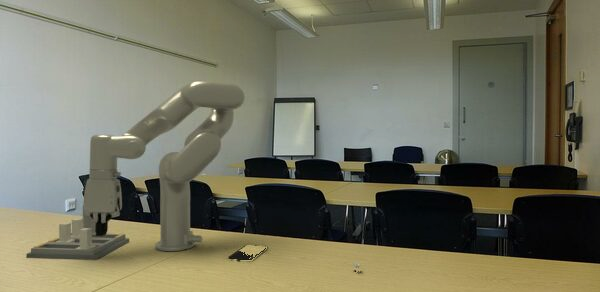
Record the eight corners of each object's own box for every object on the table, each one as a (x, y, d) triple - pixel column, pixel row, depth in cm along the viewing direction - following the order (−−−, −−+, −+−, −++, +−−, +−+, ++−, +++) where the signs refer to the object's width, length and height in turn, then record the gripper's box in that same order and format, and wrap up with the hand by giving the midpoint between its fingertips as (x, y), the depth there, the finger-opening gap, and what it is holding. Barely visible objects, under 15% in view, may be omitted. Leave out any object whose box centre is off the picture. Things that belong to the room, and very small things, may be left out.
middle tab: (74, 243, 133) (74, 222, 133) (68, 246, 130) (68, 224, 129) (62, 243, 133) (61, 222, 133) (55, 246, 130) (55, 224, 130)
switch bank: (129, 241, 140) (129, 233, 140) (96, 259, 120) (96, 250, 120) (68, 240, 142) (68, 231, 142) (26, 257, 122) (26, 247, 122)
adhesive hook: (351, 272, 113) (351, 261, 113) (359, 271, 114) (359, 260, 114) (356, 275, 110) (356, 264, 110) (364, 274, 111) (364, 263, 111)
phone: (268, 246, 134) (250, 259, 119) (268, 249, 134) (250, 263, 119) (246, 244, 136) (226, 257, 121) (246, 247, 136) (226, 261, 121)
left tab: (95, 250, 126) (95, 228, 126) (89, 253, 122) (89, 230, 122) (82, 249, 126) (82, 227, 126) (75, 253, 123) (75, 230, 122)
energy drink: (102, 233, 151) (102, 202, 151) (93, 237, 146) (93, 204, 145) (88, 233, 151) (88, 201, 151) (79, 237, 146) (79, 204, 146)
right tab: (86, 238, 139) (86, 218, 139) (80, 241, 136) (80, 220, 136) (74, 238, 140) (74, 218, 140) (68, 240, 136) (67, 220, 136)
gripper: (132, 175, 126) (130, 233, 126) (86, 173, 127) (85, 231, 127) (120, 177, 119) (118, 239, 119) (71, 175, 120) (70, 236, 120)
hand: (101, 234), depth 123 cm, fingers closed
